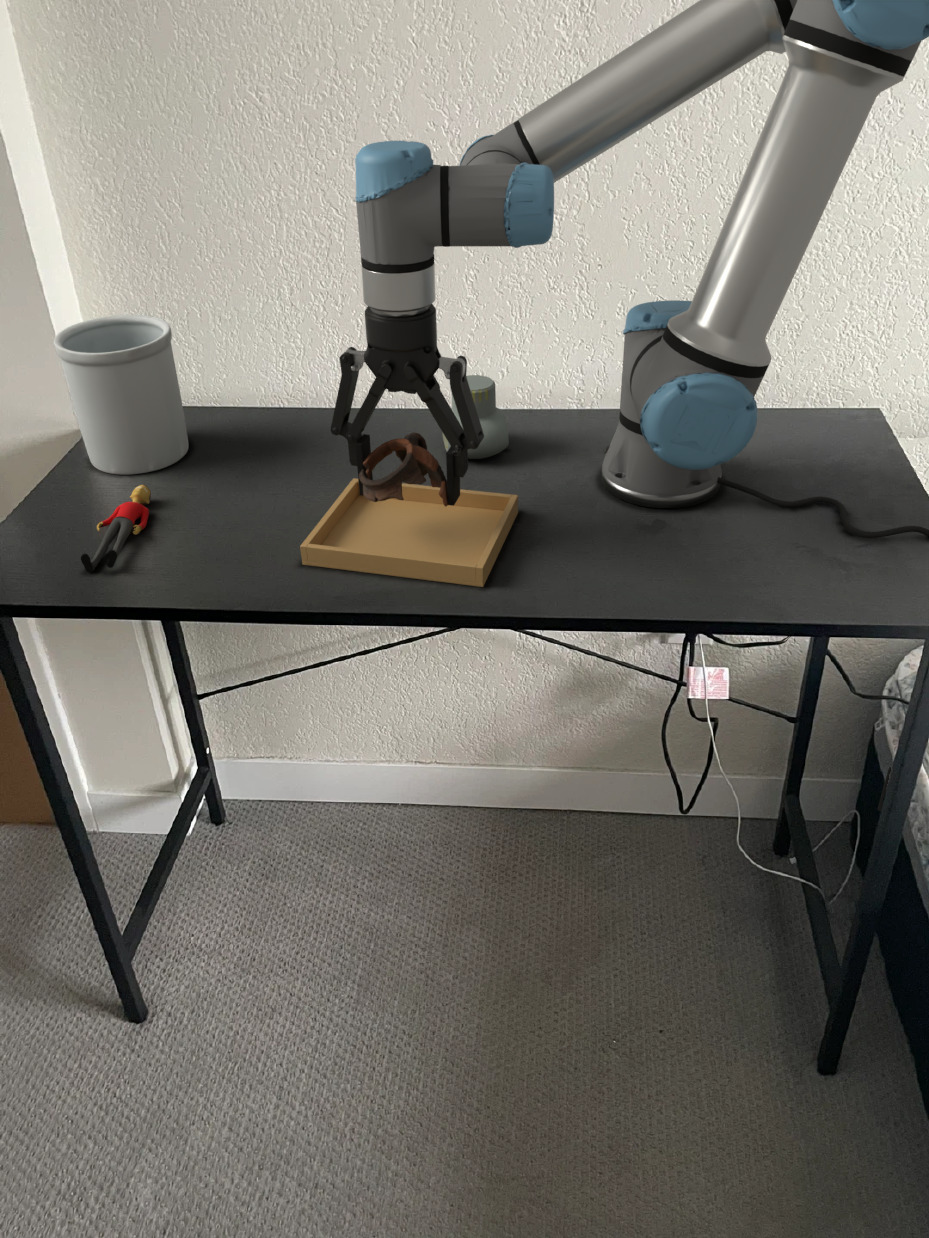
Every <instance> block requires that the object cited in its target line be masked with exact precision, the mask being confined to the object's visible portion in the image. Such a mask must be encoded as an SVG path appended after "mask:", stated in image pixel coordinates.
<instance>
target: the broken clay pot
mask: <svg viewBox="0 0 929 1238" xmlns="http://www.w3.org/2000/svg"><path fill="white" fill-rule="evenodd" d="M393 452H395V455H396V457H397V458H399V461H400V462H401V464H399V466H398V467H397V468H396V469H395V470H393V471H392V472H391V473H389V474H387V475H386V476H384V477H381V478H378V479H373V480H369V476H370V474H371V472H372V473H373V470H374V469H375V468H376V466H378V464H379V463H380V462H382V461H383V460H384V459H385V458H387V457H388V456H390V455H392V454H393ZM363 465H364V466H365V467H366V469H367V470H366V471H365V470H362V471H361V472H360V473H359V479H360V481H361V483H362V484H363V495H364V497H365V498H366V499H368V500H370V501H373V502H377V501H385V500H387V499H390V498H396V499H398V500H404V499H403V496H402V483H404V484H414V485H423V484H425V483H426V482H427V478H425V477H426V476H427V475H428V476H427V477H428V478H429V480H430V481H429V482H430V486H432V487H438V488H440V491H439V496H440V497H441V498H442V499H443V500H442V501H443V504H444V506H445V507H446V506H448V500H447V476H445V472H444V471H443V469H442V466H441V464H440V463H439V461H438V460H437V459H436V458H435V456H434V455H433V454H432V453H431V452H430V451H429V450H428V444H427V442H426V439H425V438H424V437H423V435H421V434H420V433H418V432H415V431H413V432H411V433H408V434H406V435H404V437H403V438H402V437H401V438H393V439H390V440H387V441H386V442H383V443H382V444H380V445H379V446H377V447H376V448H375V449H374V450H372V451H371V453H370V454H369V455H368V457H367V458H366V459H365V460H364V462H363Z"/></svg>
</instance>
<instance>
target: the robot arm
mask: <svg viewBox="0 0 929 1238" xmlns="http://www.w3.org/2000/svg"><path fill="white" fill-rule="evenodd" d="M927 38H929V0H698V1H696V2H695V3H693V4H692V5H691V6H689V7H687V8H686V9H684V10H683V11H681V12H680V13H678V14H677V15H675V16H674V17H672V18H671V19H669V20H668V21H666V22H664V23H663V24H661V25H659V26H658V27H656V28H655V29H654V30H652V31H651V32H649V33H647V34H646V35H644V36H643V37H642V38H640V39H639V40H637V41H635V42H634V43H632V44H631V45H629V46H628V47H626V48H625V49H624V50H621V51H620V52H619V53H617V54H616V55H614V56H613V57H611V58H609V59H608V60H606V61H605V62H603V63H602V64H600V65H598V66H597V67H595V68H594V69H593V70H590V72H588V73H587V74H585V75H583V76H581V77H580V78H579V79H577V80H576V81H574V82H572V83H571V84H569V85H568V86H567V87H565V88H564V89H562V90H560V91H559V92H557V93H556V94H553V96H551V97H549V98H548V99H546V100H545V101H544V102H542V103H540V104H539V105H537V106H536V107H534V108H533V109H531V110H530V111H528V112H526V113H525V114H524V115H522V116H521V117H518V119H517V120H516V121H514V122H512V123H510V124H509V125H507V126H505V127H504V128H502V129H501V130H499V131H498V132H496V133H495V134H489V135H484V136H482V137H479V138H477V139H476V140H474V141H473V142H472V143H471V144H470V145H469V146H468V147H467V148H466V150H465V152H464V153H463V155H462V157H461V159H460V162H459V165H441V164H434V160H433V158H432V151H431V149H430V147H429V146H428V145H427V144H426V143H423V142H419V141H414V140H413V141H411V140H410V141H407V140H386V141H385V140H384V141H377V142H371V143H369V144H366V145H364V146H362V147H361V148H360V149H359V151H358V153H357V154H356V155H355V159H354V160H355V161H354V163H355V204H356V215H357V226H358V228H357V229H358V241H359V250H360V252H359V253H360V263H361V281H362V282H361V283H362V297H363V304H364V305H366V306H367V307H366V308H365V310H364V323H365V324H364V325H365V337H366V349H365V350H357V348H356V347H354V346H349V347H348V348H347V349H346V350H345V351H344V352H342V354H341V355H340V356H339V365H340V373H341V376H340V381H339V386H338V390H337V396H336V400H335V405H334V411H333V414H332V415H333V416H332V421H331V423H330V424H331V425H330V432H331V434H332V435H333V436H342V437H343V438H345V439H346V441H347V447H348V458H349V463H350V465H351V466H353V467H357V468H356V469H357V479H358V482H359V494H360V495H363V484H362V483H361V481H360V479H359V473H360V472H361V471H362V470H365V471H366V470H367V469H366V467H365V466H364V465H363V462H364V460H365V459H366V458H367V457H368V455H369V454H370V453H372V449H371V435H370V434H367V433H366V434H365V433H363V432H364V431H365V428H366V426H367V424H368V422H369V421H370V419H371V418H372V417H371V416H372V415H373V413H374V412H375V409H376V408H377V406H378V404H379V402H380V401H381V399H382V397H383V395H384V393H385V391H386V390H387V392H388V393H398V392H403V393H406V394H409V395H416V394H417V396H418V398H419V399H420V401H421V402H422V403H424V404H425V406H426V407H427V408H428V410H429V412H430V413H431V415H432V417H433V419H434V420H435V422H436V424H437V425H438V427H439V429H440V431H441V433H442V432H443V433H442V435H443V434H444V435H445V437H446V439H447V440H448V442H449V444H450V446H451V447H450V448H449V450H448V451H446V453H445V459H446V461H445V462H446V480H447V500H448V505H451V506H454V505H455V503H456V501H457V500H458V498H459V496H460V489H461V478H464V477H465V475H466V474H467V472H468V470H469V459H468V449H477V448H478V446H479V445H480V443H481V441H482V440H483V438H484V433H483V430H482V427H481V424H480V420H479V417H478V414H477V410H476V407H475V404H474V400H473V397H472V394H471V391H470V387H469V384H468V381H467V377H466V376H467V371H468V370H467V369H468V368H467V367H468V360H467V357H465V356H464V355H458V356H457V357H456V358H453V357H446V356H442V354H441V352H440V351H439V348H438V327H437V326H438V325H437V308H436V306H435V305H434V304H433V303H434V302H435V301H436V262H435V247H442V248H449V247H512V248H514V249H519V248H521V247H528V246H540V245H544V244H546V243H548V242H549V241H550V239H551V237H552V235H553V230H554V218H555V183H556V182H558V181H560V180H562V179H563V178H565V177H566V176H568V175H569V174H571V173H573V172H574V171H575V170H577V169H579V168H581V167H582V166H584V165H586V164H587V163H589V162H591V161H592V160H594V159H595V158H597V157H598V156H600V155H601V154H603V153H605V152H606V151H608V150H610V149H611V148H612V147H614V146H616V145H617V144H619V143H621V142H622V141H624V140H626V139H627V138H629V137H631V136H632V135H633V134H636V133H637V132H638V131H640V130H642V129H644V128H645V127H647V126H648V125H650V124H652V123H653V122H655V121H656V120H658V119H660V118H661V117H663V116H664V115H666V114H668V113H669V112H671V111H673V110H674V109H676V108H677V107H679V106H680V105H682V104H684V103H686V102H687V101H689V100H690V99H692V98H694V97H696V96H697V95H698V94H700V93H702V92H703V91H705V90H706V89H709V88H710V87H711V86H713V85H714V84H716V83H717V82H719V81H721V80H722V79H724V78H726V77H727V76H729V75H730V74H732V73H734V72H735V71H737V70H739V69H740V68H741V67H743V66H745V65H747V64H748V63H750V62H751V61H753V60H755V59H756V58H758V57H759V56H761V55H763V54H764V53H766V52H773V53H777V54H780V55H783V54H785V53H786V55H787V59H788V66H787V69H786V71H785V74H784V76H783V79H782V81H781V84H780V86H779V88H778V90H777V93H776V95H775V97H774V100H773V103H772V104H771V105H772V106H771V108H770V110H769V112H768V115H767V118H766V119H765V122H764V125H763V127H762V130H761V131H760V134H759V137H758V140H757V142H756V144H755V147H754V149H753V151H752V154H751V157H750V159H749V162H748V163H747V166H746V168H745V171H744V174H743V176H742V178H741V181H740V183H739V185H738V188H737V191H736V193H735V195H734V198H733V201H732V203H731V204H730V207H729V210H728V213H727V215H726V216H725V217H726V218H725V220H724V222H723V225H722V226H721V227H722V228H721V229H720V232H719V235H718V236H717V238H716V242H715V244H714V246H713V249H712V251H711V254H710V256H709V259H708V261H707V264H706V265H705V269H704V271H703V274H702V276H701V278H700V281H699V283H698V286H697V288H696V290H695V293H694V296H693V297H692V300H681V299H679V300H674V299H673V300H656V301H655V300H654V301H647V302H643V303H639V304H637V305H634V306H633V307H631V308H630V309H629V311H627V314H626V318H625V324H624V329H623V331H622V334H623V335H624V338H623V339H624V340H623V357H622V369H621V371H622V372H621V385H620V386H621V387H620V399H619V416H618V417H619V418H618V424H617V427H616V430H615V432H614V435H613V437H612V439H611V441H610V444H608V445H607V446H606V448H605V451H604V455H605V456H604V459H603V462H602V464H601V475H600V476H601V477H600V479H601V480H600V481H601V484H602V486H603V488H604V489H605V490H606V491H607V492H608V493H610V494H611V495H612V496H613V497H615V498H617V499H620V500H621V501H624V502H626V503H629V504H633V505H637V506H641V507H646V508H655V509H680V508H687V507H691V506H696V505H699V504H702V503H705V502H707V501H709V500H710V499H711V498H713V497H715V496H716V495H717V493H718V492H719V490H720V488H721V485H723V486H725V487H728V488H731V489H734V490H737V491H739V492H743V493H745V494H748V495H751V496H753V497H755V498H758V499H759V500H761V501H764V502H766V503H769V504H771V505H774V506H778V507H782V508H783V507H784V508H798V507H803V506H804V507H805V506H807V505H812V504H817V503H823V504H828V505H831V506H833V507H835V508H836V509H838V511H839V515H840V521H841V524H842V526H843V528H844V529H846V531H847V532H848V533H850V534H852V535H854V536H856V537H860V538H866V539H879V538H886V537H891V536H896V535H900V534H907V533H919V534H920V535H921V534H922V535H924V536H925V537H927V538H928V539H929V528H927V527H923V526H921V525H904V526H898V527H894V528H890V529H889V528H888V529H884V530H877V531H876V530H875V531H870V530H869V531H868V530H863V529H859V528H857V527H855V526H853V525H852V524H851V523H850V521H849V518H848V512H847V509H846V507H845V506H844V505H845V504H843V503H842V502H841V501H839V500H837V499H835V498H832V497H829V496H821V495H820V496H812V497H806V498H803V499H799V500H782V499H778V498H775V497H772V496H770V495H768V494H765V493H763V492H761V491H759V490H757V489H754V488H751V487H748V486H746V485H743V484H740V483H739V482H734V481H732V480H730V479H729V480H728V479H726V478H723V477H722V475H723V472H722V466H721V464H725V463H727V462H729V461H731V460H732V459H734V458H736V456H738V455H739V454H740V453H741V452H742V451H743V450H744V449H745V448H746V447H747V446H748V444H749V443H750V441H751V439H752V438H753V436H754V434H755V431H756V427H757V423H758V406H757V405H758V404H757V401H756V398H755V396H756V394H757V392H758V390H759V388H760V386H761V384H762V381H763V379H764V378H765V375H766V373H767V371H768V368H769V366H770V364H771V362H772V359H773V358H772V357H773V356H772V354H771V352H770V350H769V349H770V348H769V346H768V343H767V339H766V338H767V336H768V333H769V331H770V329H771V327H772V325H773V323H774V320H775V319H776V316H777V314H778V312H779V310H780V307H781V306H782V303H783V301H784V299H785V296H786V295H787V292H788V290H789V288H790V286H791V284H792V281H793V279H794V277H795V275H796V273H797V271H798V268H799V266H800V264H801V262H802V259H803V257H804V256H805V254H806V252H807V249H808V247H809V245H810V243H811V240H812V238H813V236H814V234H815V232H816V229H817V227H818V225H819V223H820V221H821V219H822V217H823V214H824V212H825V210H826V208H827V205H828V203H829V201H830V199H831V197H832V195H833V193H834V190H835V188H836V186H837V184H838V181H839V179H840V177H841V175H842V173H843V170H844V168H845V166H846V164H847V162H848V160H849V158H850V155H851V154H852V151H853V149H854V147H855V145H856V142H857V141H858V138H859V136H860V134H861V131H862V130H863V127H864V125H865V123H866V121H867V120H868V116H869V115H870V112H871V110H872V108H873V105H874V104H875V101H876V99H877V97H879V95H880V94H881V93H883V92H884V91H886V90H888V89H890V88H891V87H894V86H896V85H898V84H899V83H901V82H903V81H904V78H905V77H906V75H907V73H908V70H909V68H910V66H911V63H912V62H913V61H914V58H915V56H916V53H917V51H918V49H919V47H920V45H921V43H922V41H924V40H926V39H927ZM364 363H365V365H366V366H367V368H368V369H369V370H370V372H371V373H372V374H373V375H374V377H375V378H374V380H373V382H372V384H371V386H370V388H369V389H368V393H367V395H366V396H365V398H364V400H363V402H362V404H361V406H360V407H359V409H358V411H357V413H356V415H355V417H354V419H353V421H352V422H350V421H349V420H350V416H351V410H352V406H353V402H354V398H355V392H356V389H357V388H356V387H357V383H358V379H359V375H360V370H361V369H362V368H363V367H364ZM439 369H440V370H442V371H443V374H444V377H445V379H446V380H449V387H450V391H451V396H452V395H453V398H454V401H455V404H456V407H457V411H458V414H459V417H460V420H461V423H462V426H461V425H460V423H459V421H458V420H457V418H456V416H455V414H454V413H453V411H452V407H451V406H450V405H449V402H448V401H447V399H446V397H445V396H444V394H443V392H442V390H441V386H440V383H439V381H438V380H437V378H436V376H435V374H436V372H438V370H439ZM462 427H463V428H462ZM373 476H374V475H373V471H372V472H371V474H370V476H369V480H374V477H373ZM890 772H891V766H889V767H888V770H887V773H886V776H885V780H884V782H883V783H884V784H883V787H882V790H881V796H880V798H879V801H878V802H879V803H878V806H877V811H879V812H882V811H881V809H882V806H883V798H884V795H885V791H886V787H887V784H888V780H889V774H890Z"/></svg>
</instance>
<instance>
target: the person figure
mask: <svg viewBox="0 0 929 1238" xmlns="http://www.w3.org/2000/svg"><path fill="white" fill-rule="evenodd" d="M151 497H152V493H151V490H150V487H148V486H147V485H145V484H140V485H138V486H135V488H134V489H133V490H132V492H131V494H130V496H129V498H130V499H131V501H126V502H123V503H120V504H119V505H118V506H117V507H116V508H115V510H113V512H112V514H111V515H109V517H107V518H106V519H104V520H101V521H99V522H98V524H97V525H96V530H97V531H98V532H100V531H101V528H104V527H107V529H106V530H105V533H104V535H103V538H102V540H101V541H100V544H99V546H98V548H97V549H96V552H95V553H94V555H93V557H92V558H90V555H88V554H87V553H82V554H81V556H80V562H81V564H82V565H83V567H84V569H85V571H86V572H87V573H89V574H91V573H93V572H94V571H95V569H96V568H97V566H98V565H99V563H101V561H102V559H103V558H104V556H105V555H106V553H107V558H108V559H107V562H106V567H107V568H109V569H112V568H114V566H115V563H116V562H117V559H118V557H119V555H120V553H121V551H122V549H123V546H124V545H125V542H126V540H127V539H128V537H129V535H130V534H131V532H132V533H133V535H135V536H136V535H139V534H140V532H141V531H143V530H145V528H146V526H147V523H148V519H149V515H150V510H149V508H148V507H146V506H147V505H148V504H150V501H151ZM138 519H140V523H139V524H135V522H136V520H138ZM133 528H134V529H133ZM132 530H133V531H132ZM116 537H117V538H116ZM115 538H116V540H115V543H114V544H113V547H112V549H110V550H109V551H108V549H109V546H110V544H111V543H112V542H113V540H114V539H115ZM107 551H108V552H107Z"/></svg>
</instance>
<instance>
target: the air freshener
mask: <svg viewBox="0 0 929 1238" xmlns="http://www.w3.org/2000/svg"><path fill="white" fill-rule="evenodd" d="M466 377H467V381H468V384H469V387H470V391H471V394H472V397H473V400H474V404H475V407H476V410H477V414H478V417H479V420H480V424H481V427H482V430H483V433H484V438H483V440H482V441H481V443H480V445H479V446H478V448H477V449H468V460H481V459H482V460H483V459H487V458H490V457H494V456H496V455H497V454H499V453H501V452H503V451H504V450H505V449H507V447H509V442H510V438H509V437H510V435H509V427H508V422H507V417H506V415H505V412H504V411H503V410H502V409H500V408H499V407H497V401H496V400H497V399H496V395H497V394H496V381H494V380H493V378H491V377H489V376H485V375H481V374H468V375H466ZM451 409H452V411H453V413H454V414H455V416H456V418H457V420H458V421H459V423H460V425H461V426H462V423H461V420H460V417H459V414H458V411H457V407H456V404H455V401H454V398H453V395H452V394H451ZM462 428H463V427H462ZM441 433H442V440H443V444H444V449H445V450H446V452H447V451H448V450H449V448H450V447H451V446H450V444H449V442H448V440H447V439H446V437H445V435H444V434H443V432H442V431H441Z"/></svg>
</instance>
